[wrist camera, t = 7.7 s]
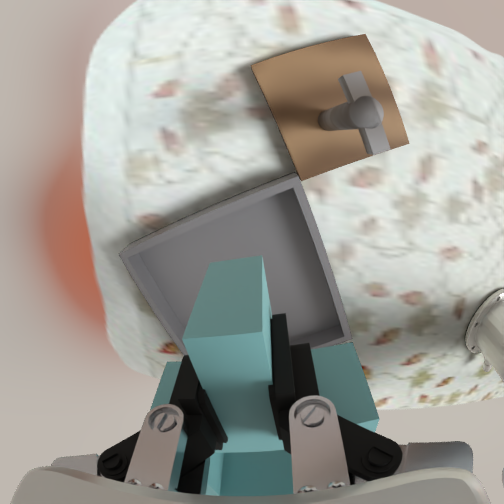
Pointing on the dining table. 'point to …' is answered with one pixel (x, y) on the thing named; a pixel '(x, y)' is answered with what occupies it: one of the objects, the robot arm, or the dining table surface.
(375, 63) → the stake board
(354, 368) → the teal hollow frame
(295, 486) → the robot arm
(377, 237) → the dining table surface
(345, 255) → the dining table surface
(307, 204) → the tray
